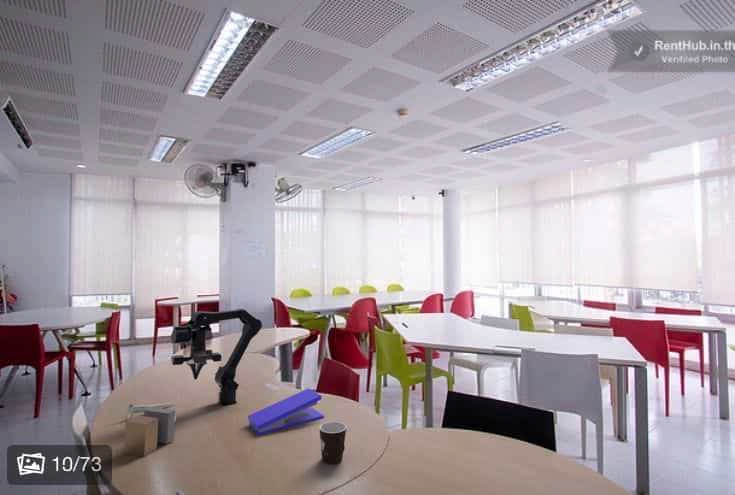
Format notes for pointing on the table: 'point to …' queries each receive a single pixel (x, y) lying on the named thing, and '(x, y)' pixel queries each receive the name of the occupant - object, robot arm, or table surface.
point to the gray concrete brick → (163, 423)
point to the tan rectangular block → (141, 435)
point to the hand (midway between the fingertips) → (195, 379)
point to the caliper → (141, 409)
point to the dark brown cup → (332, 441)
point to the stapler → (286, 413)
